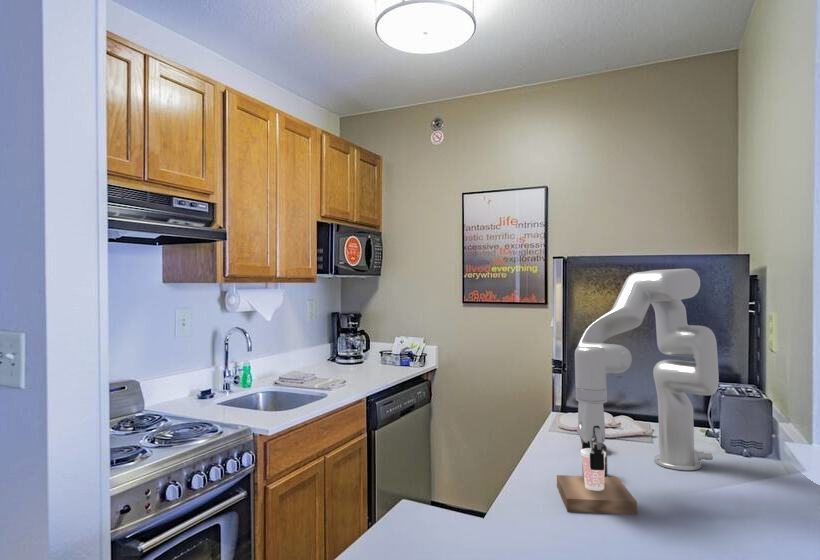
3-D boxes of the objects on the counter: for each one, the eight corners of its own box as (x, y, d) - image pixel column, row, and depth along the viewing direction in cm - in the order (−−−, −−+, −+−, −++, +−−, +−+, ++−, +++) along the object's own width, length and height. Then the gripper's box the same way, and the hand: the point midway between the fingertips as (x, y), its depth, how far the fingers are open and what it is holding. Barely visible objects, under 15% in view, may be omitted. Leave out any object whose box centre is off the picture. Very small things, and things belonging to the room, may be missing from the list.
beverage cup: (581, 490, 124) (578, 433, 125) (582, 481, 130) (580, 427, 130) (607, 493, 122) (605, 435, 122) (607, 484, 127) (605, 429, 128)
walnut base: (618, 488, 132) (618, 477, 133) (637, 514, 117) (636, 501, 117) (556, 486, 135) (556, 475, 135) (567, 511, 119) (566, 498, 119)
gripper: (569, 388, 136) (571, 452, 135) (582, 401, 119) (585, 475, 118) (598, 388, 135) (600, 453, 134) (615, 402, 117) (617, 476, 117)
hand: (593, 463), depth 126 cm, fingers open, 8 cm apart
